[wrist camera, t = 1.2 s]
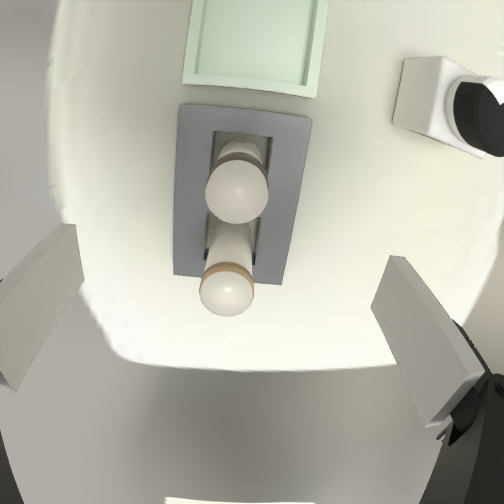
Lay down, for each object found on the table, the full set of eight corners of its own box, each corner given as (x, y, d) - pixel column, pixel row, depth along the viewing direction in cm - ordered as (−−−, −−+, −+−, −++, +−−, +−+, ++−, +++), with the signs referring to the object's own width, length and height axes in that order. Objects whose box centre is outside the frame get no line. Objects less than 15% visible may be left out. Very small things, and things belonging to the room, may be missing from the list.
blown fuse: (221, 134, 29) (206, 159, 18) (264, 139, 29) (274, 166, 19) (217, 174, 31) (201, 221, 20) (258, 179, 31) (264, 228, 21)
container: (444, 144, 29) (521, 178, 17) (390, 123, 28) (464, 149, 17) (457, 84, 25) (538, 96, 14) (403, 58, 24) (482, 52, 13)
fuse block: (184, 103, 27) (179, 104, 25) (307, 117, 28) (312, 119, 26) (177, 262, 36) (173, 274, 34) (279, 272, 37) (281, 285, 34)
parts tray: (205, -37, 19) (202, -47, 17) (326, -23, 20) (332, -31, 18) (186, 84, 26) (181, 83, 24) (310, 98, 27) (315, 98, 25)
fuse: (214, 209, 33) (199, 270, 22) (254, 213, 33) (257, 276, 22) (212, 244, 35) (198, 314, 24) (249, 247, 35) (250, 319, 24)
